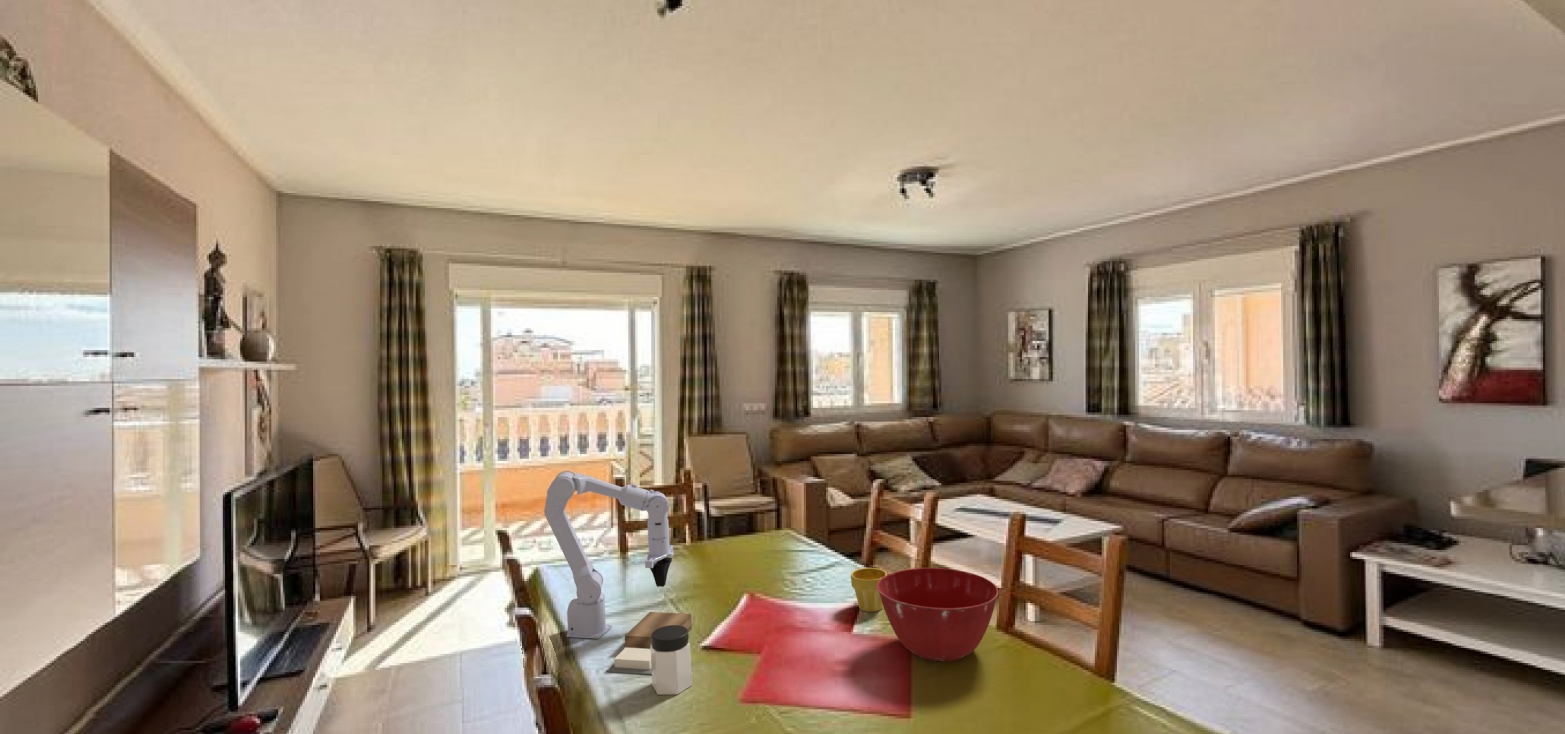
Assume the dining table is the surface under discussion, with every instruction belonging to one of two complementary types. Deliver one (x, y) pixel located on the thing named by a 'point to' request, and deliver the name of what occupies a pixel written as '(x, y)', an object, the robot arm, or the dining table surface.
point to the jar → (670, 660)
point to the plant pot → (867, 588)
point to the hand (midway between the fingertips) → (660, 585)
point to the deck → (654, 627)
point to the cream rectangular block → (634, 658)
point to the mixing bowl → (938, 610)
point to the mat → (629, 670)
